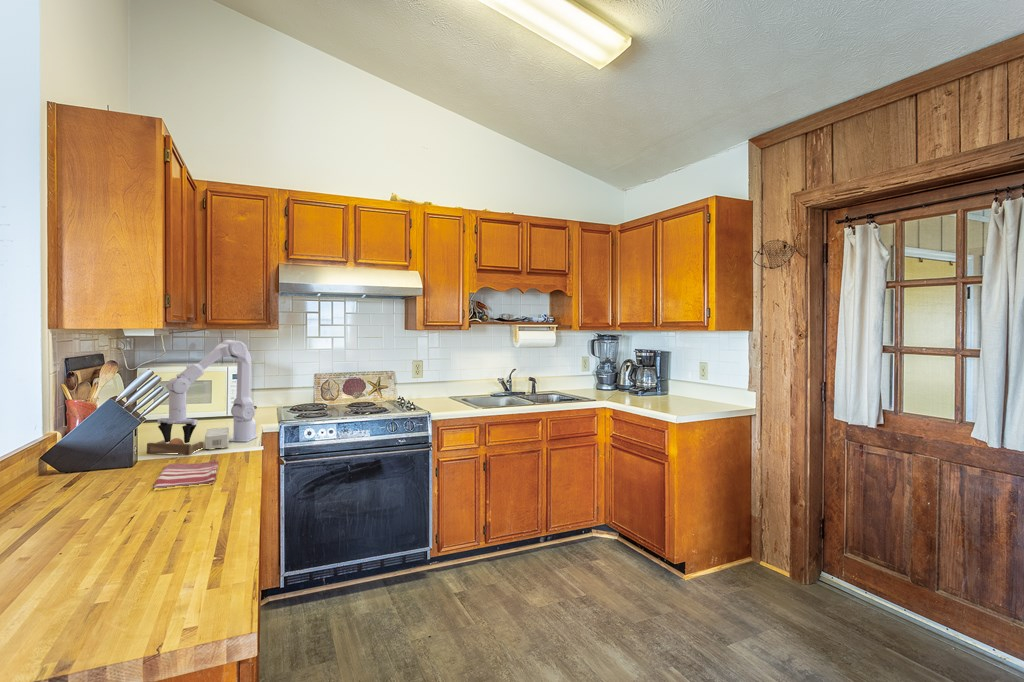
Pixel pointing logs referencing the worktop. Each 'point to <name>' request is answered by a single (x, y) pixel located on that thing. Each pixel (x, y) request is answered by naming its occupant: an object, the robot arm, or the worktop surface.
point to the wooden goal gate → (173, 448)
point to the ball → (176, 441)
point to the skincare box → (217, 438)
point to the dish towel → (187, 474)
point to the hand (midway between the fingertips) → (177, 442)
